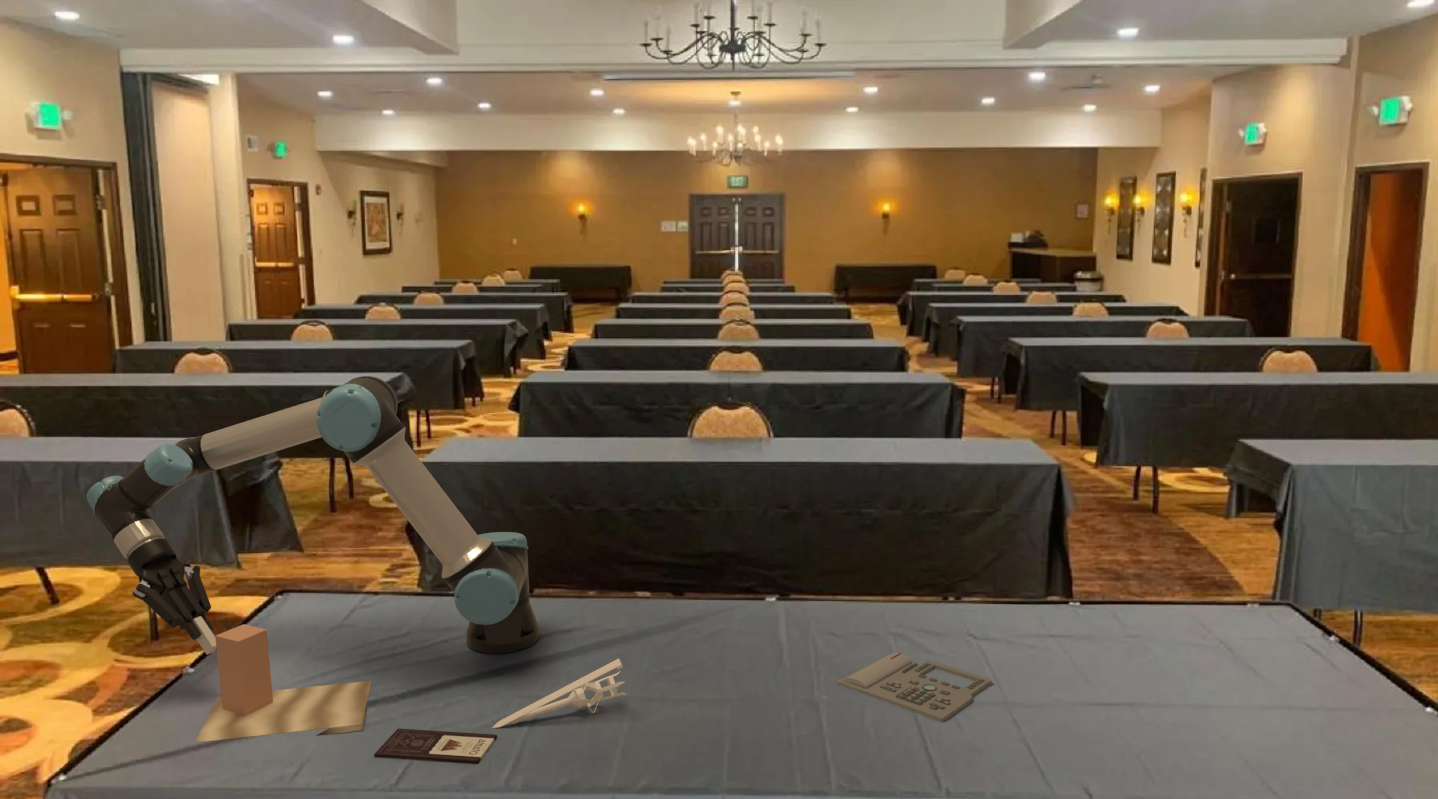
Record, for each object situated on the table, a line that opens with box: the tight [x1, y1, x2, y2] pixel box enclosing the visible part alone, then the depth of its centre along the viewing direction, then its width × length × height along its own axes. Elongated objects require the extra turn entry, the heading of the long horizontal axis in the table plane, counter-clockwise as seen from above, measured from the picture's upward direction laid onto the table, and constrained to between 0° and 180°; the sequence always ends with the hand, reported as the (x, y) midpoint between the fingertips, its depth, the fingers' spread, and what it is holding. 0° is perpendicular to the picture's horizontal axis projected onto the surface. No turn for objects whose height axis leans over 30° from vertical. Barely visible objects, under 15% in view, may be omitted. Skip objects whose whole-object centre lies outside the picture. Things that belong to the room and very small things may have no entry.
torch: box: [491, 658, 628, 729], centre depth 191 cm, size 6×9×25 cm
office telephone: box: [836, 652, 993, 723], centre depth 202 cm, size 23×3×20 cm
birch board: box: [194, 680, 373, 744], centre depth 192 cm, size 27×18×1 cm, turn 103°
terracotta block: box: [214, 623, 273, 716], centre depth 192 cm, size 6×6×14 cm
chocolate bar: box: [373, 728, 498, 765], centre depth 180 cm, size 9×1×18 cm
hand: (213, 649), depth 195 cm, fingers closed
